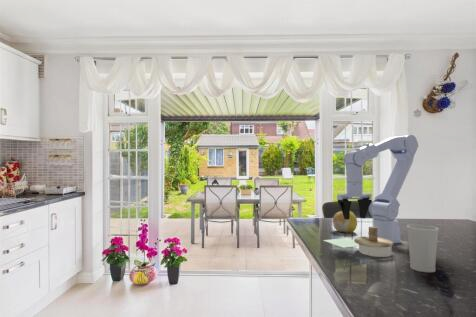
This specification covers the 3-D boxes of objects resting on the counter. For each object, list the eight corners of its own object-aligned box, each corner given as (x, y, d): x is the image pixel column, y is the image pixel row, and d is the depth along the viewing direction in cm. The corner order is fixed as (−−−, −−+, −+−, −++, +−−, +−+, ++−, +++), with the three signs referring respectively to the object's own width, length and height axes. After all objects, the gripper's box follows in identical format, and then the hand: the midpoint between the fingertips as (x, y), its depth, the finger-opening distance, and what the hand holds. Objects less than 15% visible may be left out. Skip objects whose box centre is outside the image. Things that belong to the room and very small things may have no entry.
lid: (369, 237, 116) (369, 223, 116) (400, 244, 105) (400, 228, 106) (346, 241, 110) (346, 226, 110) (376, 249, 100) (376, 232, 100)
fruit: (339, 229, 148) (339, 208, 148) (361, 233, 140) (361, 210, 140) (327, 232, 141) (327, 210, 141) (350, 236, 133) (350, 212, 133)
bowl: (375, 248, 113) (375, 238, 114) (398, 256, 104) (398, 245, 104) (353, 251, 110) (353, 241, 110) (374, 259, 101) (374, 248, 101)
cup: (428, 275, 86) (427, 230, 86) (401, 266, 93) (400, 225, 93) (445, 270, 90) (444, 228, 90) (417, 263, 97) (417, 223, 97)
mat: (347, 238, 129) (347, 237, 129) (369, 245, 118) (369, 244, 118) (322, 241, 124) (322, 240, 124) (343, 248, 113) (343, 247, 113)
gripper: (362, 181, 126) (362, 215, 125) (332, 182, 121) (332, 217, 120) (375, 182, 119) (375, 218, 119) (344, 183, 114) (344, 220, 114)
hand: (354, 218), depth 119 cm, fingers open, 7 cm apart
